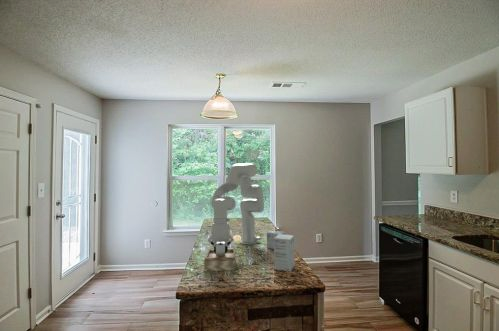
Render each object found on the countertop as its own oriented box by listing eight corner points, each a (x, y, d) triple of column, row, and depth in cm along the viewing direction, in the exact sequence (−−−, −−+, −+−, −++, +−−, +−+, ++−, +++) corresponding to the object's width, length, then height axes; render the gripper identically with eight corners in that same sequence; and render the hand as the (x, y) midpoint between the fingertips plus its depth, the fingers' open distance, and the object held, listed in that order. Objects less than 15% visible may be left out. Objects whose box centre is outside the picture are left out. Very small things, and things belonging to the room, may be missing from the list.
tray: (235, 260, 162) (235, 249, 162) (234, 270, 146) (234, 257, 147) (208, 260, 162) (208, 249, 162) (204, 270, 146) (204, 258, 146)
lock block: (225, 252, 158) (225, 240, 158) (225, 256, 151) (224, 243, 151) (216, 252, 158) (216, 240, 158) (215, 256, 151) (215, 243, 151)
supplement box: (279, 263, 156) (278, 233, 156) (295, 265, 152) (294, 235, 152) (273, 269, 147) (273, 237, 147) (290, 271, 143) (290, 239, 143)
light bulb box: (284, 247, 187) (284, 231, 187) (281, 250, 181) (281, 233, 181) (270, 245, 192) (269, 230, 192) (266, 248, 186) (266, 232, 186)
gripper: (235, 219, 159) (236, 250, 158) (206, 219, 158) (206, 251, 158) (235, 221, 151) (235, 255, 151) (204, 222, 150) (204, 255, 150)
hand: (220, 252), depth 154 cm, fingers closed on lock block, 4 cm apart
